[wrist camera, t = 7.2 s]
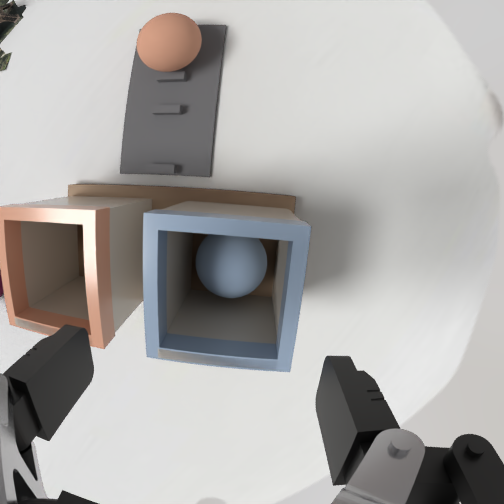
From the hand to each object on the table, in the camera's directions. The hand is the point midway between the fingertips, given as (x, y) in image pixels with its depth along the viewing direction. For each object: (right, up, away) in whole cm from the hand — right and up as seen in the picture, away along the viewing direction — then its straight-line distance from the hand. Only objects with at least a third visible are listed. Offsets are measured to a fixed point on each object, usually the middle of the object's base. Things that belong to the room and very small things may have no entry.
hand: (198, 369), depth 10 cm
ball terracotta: (-5, +21, +13) cm, 25 cm away
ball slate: (0, +4, +16) cm, 16 cm away
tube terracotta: (-11, +5, +16) cm, 20 cm away
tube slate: (0, +4, +16) cm, 16 cm away
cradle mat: (-5, +17, +14) cm, 23 cm away
